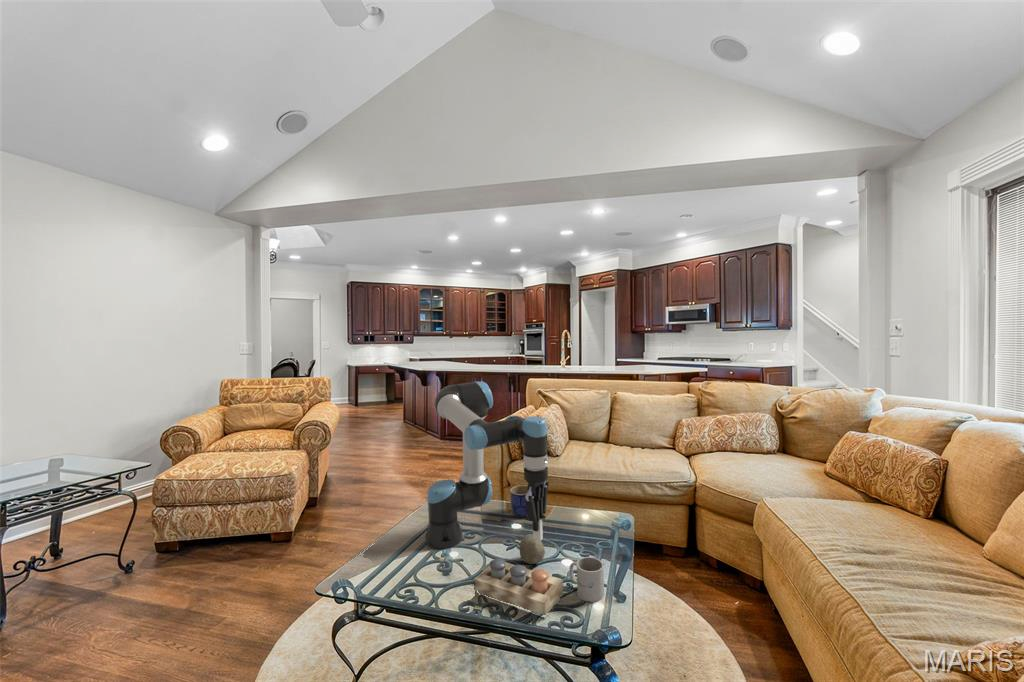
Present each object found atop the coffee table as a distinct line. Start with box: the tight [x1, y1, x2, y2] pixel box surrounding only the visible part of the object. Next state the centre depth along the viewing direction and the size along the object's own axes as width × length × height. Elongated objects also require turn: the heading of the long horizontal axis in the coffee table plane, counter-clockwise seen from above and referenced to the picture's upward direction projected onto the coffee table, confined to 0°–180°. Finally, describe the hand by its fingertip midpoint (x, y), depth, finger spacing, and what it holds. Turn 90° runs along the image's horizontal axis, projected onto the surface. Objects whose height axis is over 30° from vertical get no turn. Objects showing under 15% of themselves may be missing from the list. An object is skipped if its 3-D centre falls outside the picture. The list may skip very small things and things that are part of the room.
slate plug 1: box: [489, 558, 507, 580], centre depth 152 cm, size 5×5×7 cm
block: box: [474, 562, 564, 615], centre depth 149 cm, size 26×13×5 cm, turn 59°
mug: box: [569, 556, 605, 603], centre depth 149 cm, size 12×9×10 cm
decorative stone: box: [519, 533, 546, 565], centre depth 166 cm, size 10×8×10 cm
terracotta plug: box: [531, 568, 549, 595], centre depth 144 cm, size 5×5×7 cm
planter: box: [509, 484, 528, 518], centre depth 205 cm, size 11×11×11 cm
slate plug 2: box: [510, 564, 527, 587], centre depth 148 cm, size 5×5×7 cm
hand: (537, 538), depth 143 cm, fingers closed
